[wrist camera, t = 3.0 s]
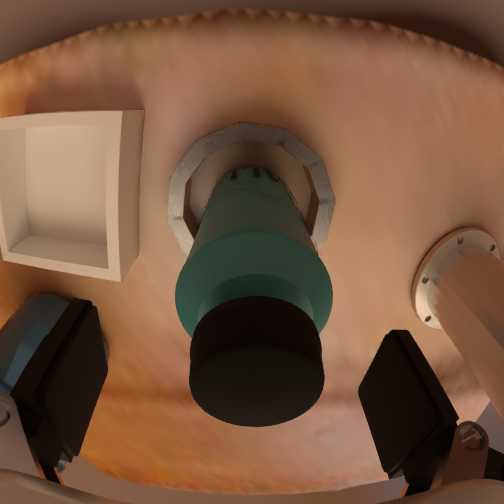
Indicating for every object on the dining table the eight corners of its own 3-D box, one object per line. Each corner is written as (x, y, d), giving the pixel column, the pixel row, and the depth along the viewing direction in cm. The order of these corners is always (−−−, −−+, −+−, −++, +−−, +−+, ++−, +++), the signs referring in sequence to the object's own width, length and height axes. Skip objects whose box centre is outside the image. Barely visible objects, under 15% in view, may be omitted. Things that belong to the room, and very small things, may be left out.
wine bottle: (6, 300, 31) (-114, 479, 4) (73, 274, 29) (-81, 531, 2) (62, 378, 36) (-9, 555, 9) (134, 368, 35) (72, 603, 8)
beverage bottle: (233, 246, 28) (216, 465, 10) (196, 180, 25) (93, 353, 7) (301, 216, 27) (388, 417, 9) (269, 145, 24) (336, 257, 6)
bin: (144, 110, 23) (122, 111, 18) (138, 254, 28) (120, 281, 24) (24, 113, 22) (-10, 119, 17) (29, 239, 27) (3, 260, 23)
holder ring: (337, 137, 24) (348, 141, 21) (307, 272, 29) (313, 289, 26) (183, 115, 23) (175, 116, 20) (172, 255, 28) (165, 271, 26)
